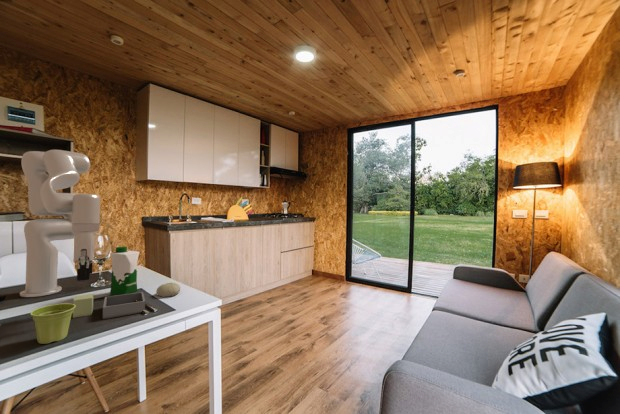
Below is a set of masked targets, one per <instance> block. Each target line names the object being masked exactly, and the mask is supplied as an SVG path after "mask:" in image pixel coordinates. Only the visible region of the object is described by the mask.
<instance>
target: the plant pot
mask: <svg viewBox="0 0 620 414" xmlns="http://www.w3.org/2000/svg"><path fill="white" fill-rule="evenodd" d="M75 307H76V305H75V304H73V303H70V302H69V303H67V302H66V303H57V304H50V305H45V306H41V307H39V308H36V309H34V310H32V311H31V312H30V316H31V317H32V320H33V321H34V327H35V334H36V340H37V343H38V344H41V345H42V344H43V345H44V344H51V343H53V342H59V341H62V340H64V339H65V338H66V337H68V333H69V328H70V323H71V318H72V316H73V310H74V308H75Z"/></svg>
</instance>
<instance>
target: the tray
mask: <svg viewBox="0 0 620 414" xmlns="http://www.w3.org/2000/svg"><path fill="white" fill-rule="evenodd" d="M136 300H137V301H139V302H133V301H136ZM132 302H133V303H132ZM143 310H145V311H146V299H145V294H144V291H139V292H138V291H137V292H134V293H131V294H123V295H110V296H109V295H108V296H104V301H103V306H102V320H107V319H113V318H118V317H123V316H129V315H130V316H131V315H136V314H142V313H143V312H142V311H143ZM141 312H142V313H141Z"/></svg>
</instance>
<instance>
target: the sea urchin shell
mask: <svg viewBox="0 0 620 414" xmlns="http://www.w3.org/2000/svg"><path fill="white" fill-rule="evenodd" d="M180 291H181V286H180V285H179V284H178V283H176V282H166V283H163V284H161V285H160V286H158V287H157V289H156V295H157V296H159V297H161V298H168V297H174V296H176V295H178V294H179V293H180Z"/></svg>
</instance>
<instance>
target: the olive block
mask: <svg viewBox="0 0 620 414" xmlns="http://www.w3.org/2000/svg"><path fill="white" fill-rule="evenodd" d="M72 304H75V305H76V307H75V308H74V310H73V313H72V318H73V319H74V318H80V317H87V316H92V314H93V311H94V293H89V294H82V295H75V296H74V298H73V301H72Z"/></svg>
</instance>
